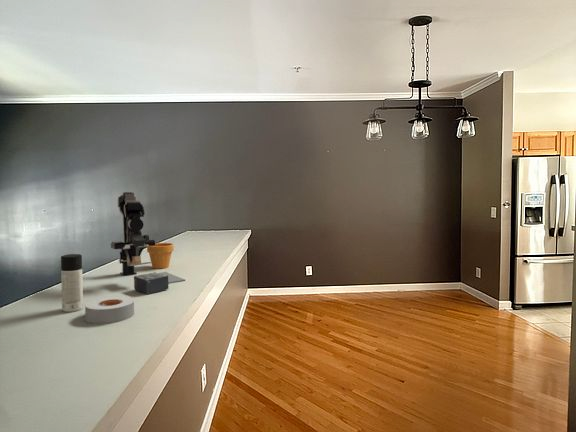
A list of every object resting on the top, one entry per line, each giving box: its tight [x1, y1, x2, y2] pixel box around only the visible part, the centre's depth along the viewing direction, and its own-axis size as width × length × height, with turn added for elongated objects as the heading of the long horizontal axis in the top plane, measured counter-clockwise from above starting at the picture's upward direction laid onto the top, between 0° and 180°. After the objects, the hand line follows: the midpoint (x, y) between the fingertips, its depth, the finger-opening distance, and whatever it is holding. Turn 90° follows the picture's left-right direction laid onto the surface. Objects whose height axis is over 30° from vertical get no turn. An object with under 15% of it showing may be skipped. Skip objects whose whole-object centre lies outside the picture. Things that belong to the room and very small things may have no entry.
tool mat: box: [158, 271, 186, 285], centre depth 183 cm, size 22×13×1 cm, turn 43°
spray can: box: [60, 253, 84, 313], centre depth 134 cm, size 7×7×20 cm
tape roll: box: [84, 296, 135, 325], centre depth 129 cm, size 15×15×5 cm
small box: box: [133, 272, 170, 295], centre depth 162 cm, size 11×6×10 cm
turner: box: [127, 255, 151, 267], centre depth 171 cm, size 14×7×4 cm, turn 47°
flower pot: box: [146, 242, 174, 270], centre depth 210 cm, size 14×14×13 cm
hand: (134, 262), depth 173 cm, fingers closed on turner, 3 cm apart
